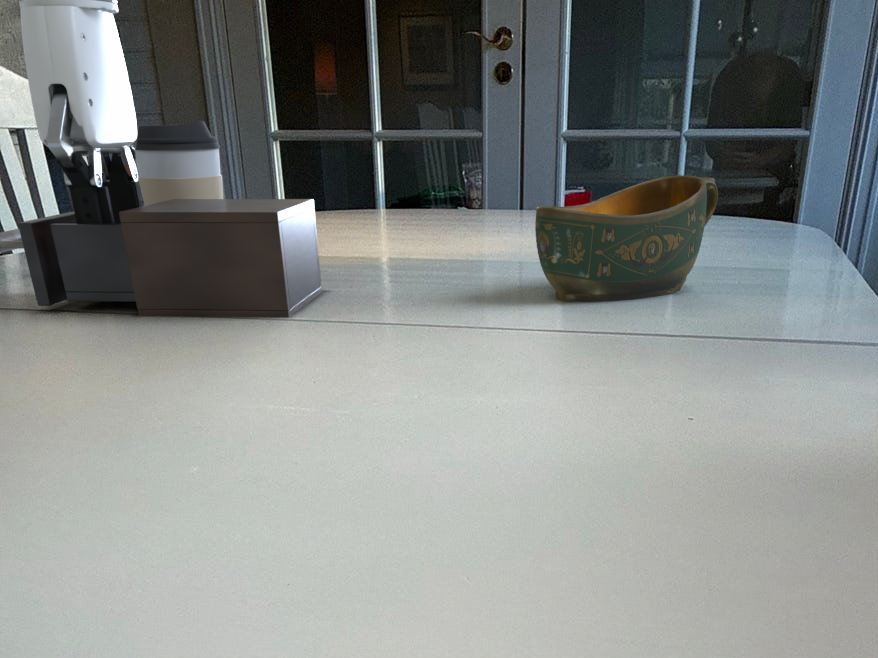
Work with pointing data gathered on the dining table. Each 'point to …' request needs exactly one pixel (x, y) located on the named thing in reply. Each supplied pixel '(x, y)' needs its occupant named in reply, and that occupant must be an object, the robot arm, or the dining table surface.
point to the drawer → (73, 259)
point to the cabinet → (223, 257)
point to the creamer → (626, 240)
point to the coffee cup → (178, 163)
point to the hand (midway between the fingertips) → (113, 230)
